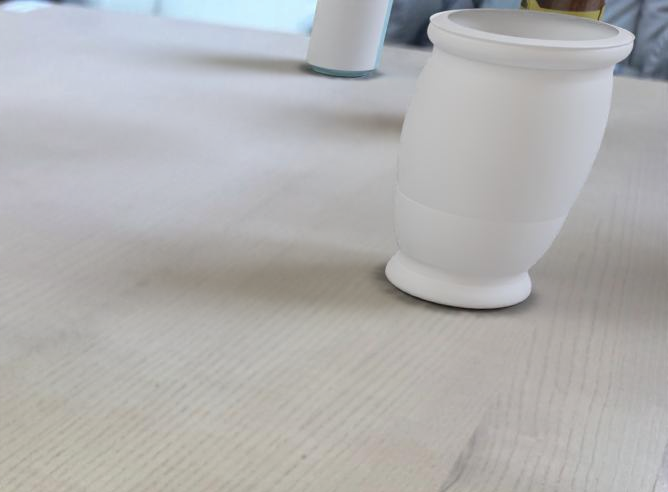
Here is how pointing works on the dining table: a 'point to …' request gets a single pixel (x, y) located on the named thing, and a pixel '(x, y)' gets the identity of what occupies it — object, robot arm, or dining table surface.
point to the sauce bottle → (567, 7)
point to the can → (348, 36)
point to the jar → (497, 149)
